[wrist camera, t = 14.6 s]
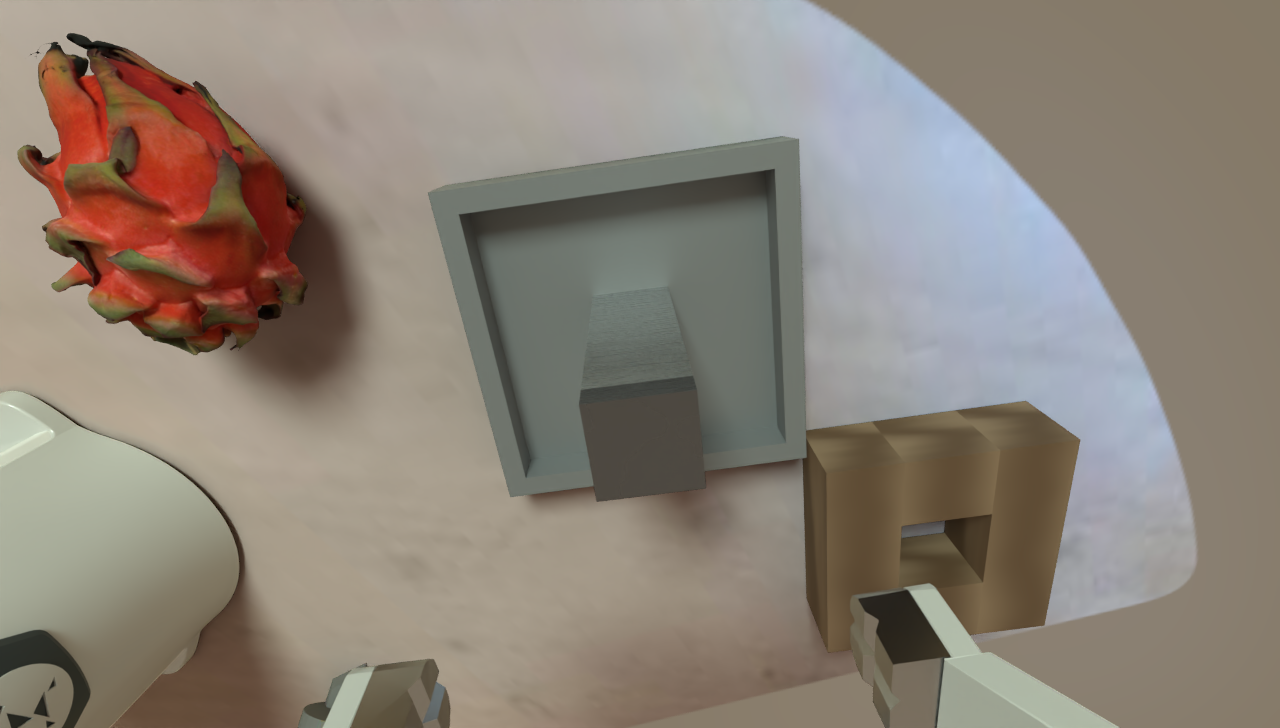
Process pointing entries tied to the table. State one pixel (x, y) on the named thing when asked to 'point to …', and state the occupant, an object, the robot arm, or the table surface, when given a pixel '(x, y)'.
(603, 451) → the metal pin
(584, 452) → the tray
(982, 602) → the hitch block
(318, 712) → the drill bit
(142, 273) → the dragon fruit
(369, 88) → the table surface
